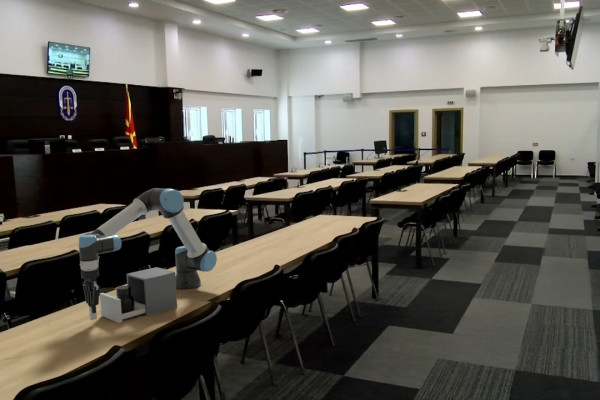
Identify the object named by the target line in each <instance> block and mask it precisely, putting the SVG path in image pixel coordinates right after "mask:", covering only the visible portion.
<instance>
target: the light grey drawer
mask: <svg viewBox="0 0 600 400" xmlns="http://www.w3.org/2000/svg"><path fill="white" fill-rule="evenodd" d="M99 301H100V302H99V303H100V315H101V317H104V318H106V319H108V320H110V321H113V322H115V323H118V324H122V323H123V320H126V319H129V318H132V317H136V316H139V315H144V314H143V313H146V308H145V305H144V304H141V303H138V302H135V301H134V305H135V310H134V311H131V312H128V313H124V314H122V312H121V299H119V298H117V296H113V295H110V294H107V293H104V292H99Z"/></svg>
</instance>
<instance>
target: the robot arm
mask: <svg viewBox="0 0 600 400" xmlns="http://www.w3.org/2000/svg"><path fill="white" fill-rule="evenodd" d="M184 201H185V199H184V196H183V194H182V193H181V192H180V191H179V190H178V189H173V188H159V187H155V188H151V189H149V190H146V191H144V192H143V193H141V194H140V195H139V196H137V197H135V198H134V199H133V201H132V202H131V203H130V204H129V205H128V206H127V207H125V208H124V209H122V210H121V211H120V212H118V213H117V214H115V215H114V216H112V218H110V219H108V220H107V221H106V222H104V223H103V224H101V225H100V226H99V227H98V228H96V229H95V230H93V231H92V232H86V233H84V234H82V235H81V236H79V238H78V249H79V251H78V253H79V262H80V263H79V266H80V270H81V271H80V276H81V279H82V280H83V281H84V282H81V285H82V289H83V293H84V300H85V304H87V305H88V313H89V320H90V321H95V320H97V319H98V316H97V315H98V314H97V312H98V311H97V306H98V305H99V303H100V302H99V301H100V289H101V285H98V282H97V278H99V277H100V272H99V258H98V256H99V255H101V254H106V253H113V252H116V251H120V250H121V248H122V240H121V238H120V236H119V235H117V234H118V233H119V232H120V231H122V230H124V229H125V228H126V227H127V226H128V225H130V224H131V223H132V222H133V221H135V220H137V219H138V218H139V217H141V216H142V215H143V216H144V215H147V214H148V213H149V212H154V211H159V212H160V213H161V215H162V216H163V218H164V219H167V220H168V221H169V222H170V224H171V226H172V227H173V229H174V231H175V233H176V234H177V236H178V238H179V239H180V240H181V242H182V244H183V245H182V246H178V247H176V248H175V250H174V251H175V254H174V257H175V259H174V260H175V276H176V289H177V290H179V289H180V290H189V289H195V288H198V287H200V286H202V283H201V278H200V276H199V273H198V271H199V272H203V273H204V272H206V273H207V272H211V271H213V269H214V268H215V266H216V265H217V260H218V257H217V254H216V253H215V251H213V250H210V248H209V247H208V245H207V244H205V243H204V242H202V241H201V239H200V238H199V236H198V234H197V232H196V230H195V229H194V227H193V226H192V224H191V222H190V220H189V218H188V217H187V215H186V214H185V212H184V208H185V206H184V205H185V203H184Z"/></svg>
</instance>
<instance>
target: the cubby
mask: <svg viewBox="0 0 600 400" xmlns="http://www.w3.org/2000/svg"><path fill="white" fill-rule="evenodd" d="M126 286H131V295H132V296H133V297H134V301H135V302H138V303H141V304H144V305H145V308H146V313H143V314H142V315H144V316H150V315H151V316H152V315H155V314H157V313H160V312H164V311H167V310H171V309H175V308H178V296H177V288H176V271H172V270H169V269H164V268H162V267H158V266H157V267H156V266H155V267H153V268H148V269H143V270H138V271H134V272H133V271H132V272H129V273H126Z"/></svg>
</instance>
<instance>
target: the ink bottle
mask: <svg viewBox="0 0 600 400" xmlns="http://www.w3.org/2000/svg"><path fill="white" fill-rule="evenodd" d="M115 291H116V293H115V294H116V298H119V299H121V312H122V314H124V313H128V312H131V311H134V310H135V305H134V297H133V296H132V295H131V286H127V285H120V286H116V288H115Z"/></svg>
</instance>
